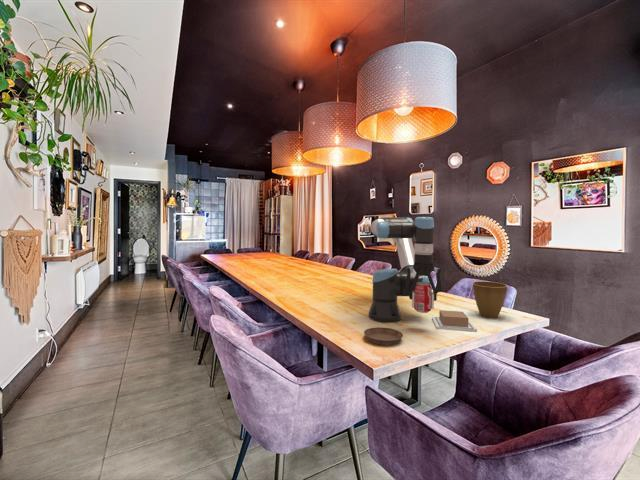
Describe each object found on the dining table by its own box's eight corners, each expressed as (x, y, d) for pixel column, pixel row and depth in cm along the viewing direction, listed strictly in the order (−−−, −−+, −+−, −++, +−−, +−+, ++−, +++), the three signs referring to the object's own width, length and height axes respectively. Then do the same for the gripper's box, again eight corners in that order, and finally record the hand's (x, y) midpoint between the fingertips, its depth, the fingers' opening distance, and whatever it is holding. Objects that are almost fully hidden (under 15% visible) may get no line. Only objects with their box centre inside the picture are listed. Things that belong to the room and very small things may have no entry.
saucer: (375, 330, 125) (375, 324, 125) (409, 339, 115) (409, 332, 115) (356, 340, 114) (356, 333, 113) (392, 351, 104) (392, 343, 104)
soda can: (428, 309, 129) (429, 281, 128) (433, 314, 122) (434, 285, 121) (412, 308, 129) (412, 281, 129) (415, 313, 122) (416, 284, 122)
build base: (436, 328, 127) (436, 317, 127) (431, 319, 140) (432, 308, 140) (477, 331, 123) (477, 319, 123) (468, 321, 137) (468, 310, 137)
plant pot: (468, 311, 154) (468, 280, 154) (499, 312, 151) (500, 281, 151) (477, 319, 140) (477, 286, 139) (511, 321, 137) (512, 287, 136)
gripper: (399, 253, 123) (398, 308, 124) (451, 255, 118) (449, 311, 119) (398, 252, 130) (398, 303, 131) (447, 253, 126) (446, 306, 127)
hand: (422, 307), depth 125 cm, fingers closed on soda can, 7 cm apart
